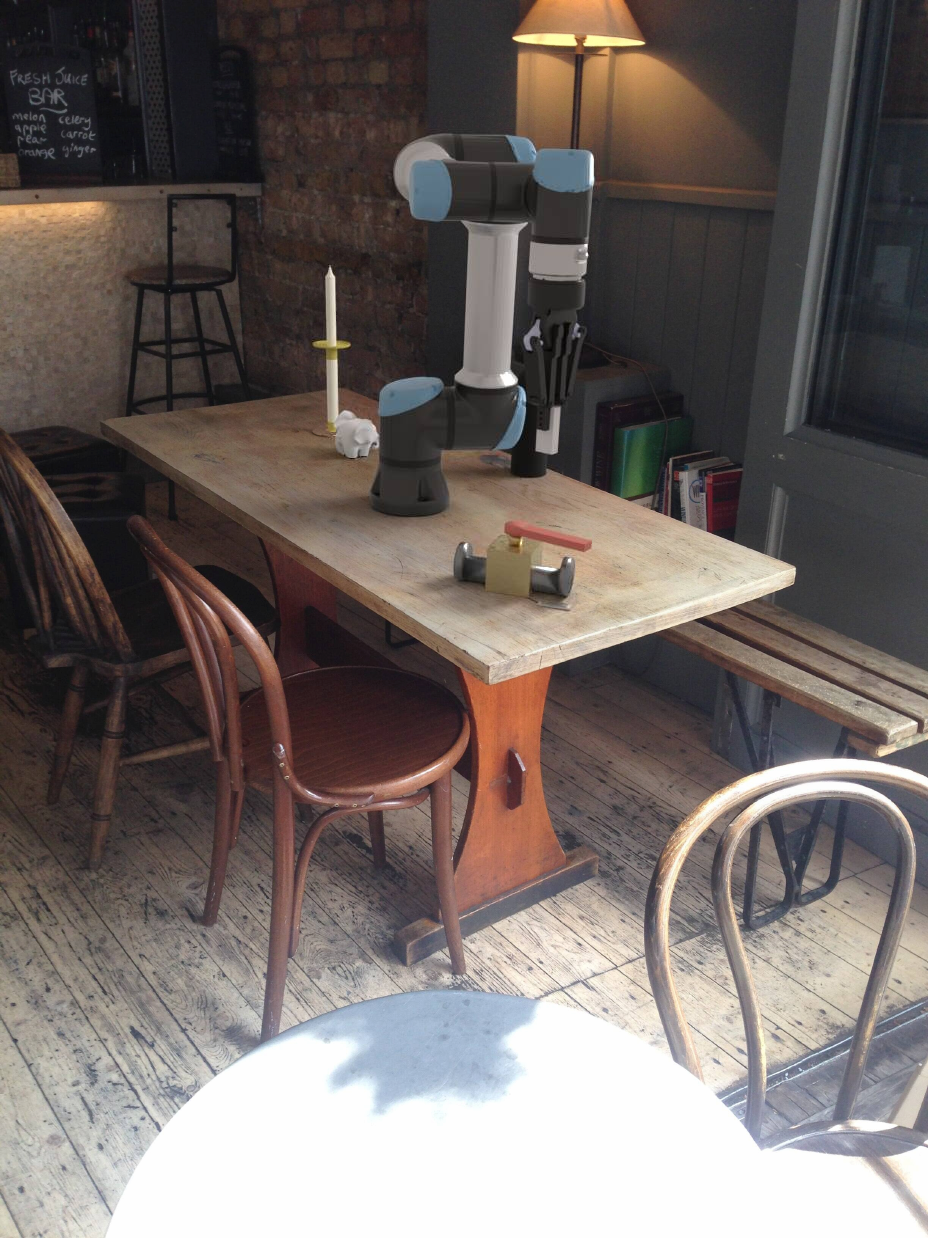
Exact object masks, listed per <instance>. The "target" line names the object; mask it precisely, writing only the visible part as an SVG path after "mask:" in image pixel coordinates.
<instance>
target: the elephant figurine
mask: <svg viewBox="0 0 928 1238" xmlns="http://www.w3.org/2000/svg"><path fill="white" fill-rule="evenodd" d="M334 427H335V430H336V431H337V433H336V435H333V436H335V437H334V444H335V448H336V450H337V452H339V453H345V454H346V455H345V456H346V458H347V457H349V458H356V457H357V458H358V456H359V457H361V456H367V457H368V456H369V452H370V451H369V450H370V449H372V450H377V449H379V433H378V432H377V427H376V426H375V425H374V424H373V423H372V421H371V420H370V419H367V418H363V419H362V418H360V417H359V418H357V416H356V415H355V414H354V413H353V412H351V411H349V410H343V411H341V412H340V413H338V417H337V419H336V421H335V423H334ZM339 453H338V454H339ZM349 458H348V459H349ZM357 458H356V459H357Z"/></svg>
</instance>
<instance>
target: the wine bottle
mask: <svg viewBox="0 0 928 1238" xmlns="http://www.w3.org/2000/svg"><path fill="white" fill-rule="evenodd" d="M528 328H529V329H528V332H529V331H530V330H531V329H532V327H531V325H530V326H529V327H528ZM516 377H517V378H518V384H517V386H520V387H522V388H523V389H524V391H525V395H526V404H525V407H526V413H525V420H524V425H523V429H522V433H521V436H520V438H519V440H518V441H517V443H516V444H515V445H514V446H513V447H512V448H511V450H510V451H511V453H510V454H511V455H510V474H511V475H513V476H516V477H520V478H531V479H532V478H533V479H534V478H540V477H545V476H546V475H547V464H548V454H547V453H542V452H538V451H536V436H537V427H536V423H537V406H536V405H532V404H531V403H529V402H528V401H527V391H526V380H525V369H523V370H521V371H520V372H518V374H517V375H516Z"/></svg>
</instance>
